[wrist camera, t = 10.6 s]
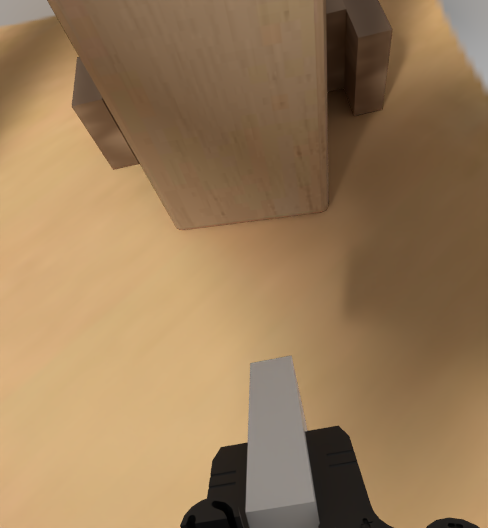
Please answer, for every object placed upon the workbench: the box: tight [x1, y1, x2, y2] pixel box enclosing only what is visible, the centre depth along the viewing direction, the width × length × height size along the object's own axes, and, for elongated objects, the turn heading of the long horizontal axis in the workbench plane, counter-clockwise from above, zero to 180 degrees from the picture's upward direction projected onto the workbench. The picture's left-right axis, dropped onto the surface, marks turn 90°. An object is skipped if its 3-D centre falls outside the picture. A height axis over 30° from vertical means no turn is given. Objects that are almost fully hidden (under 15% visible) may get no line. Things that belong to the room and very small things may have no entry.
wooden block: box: [47, 0, 329, 230], centre depth 22 cm, size 10×10×20 cm
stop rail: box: [72, 0, 392, 170], centre depth 30 cm, size 20×5×6 cm, turn 97°
